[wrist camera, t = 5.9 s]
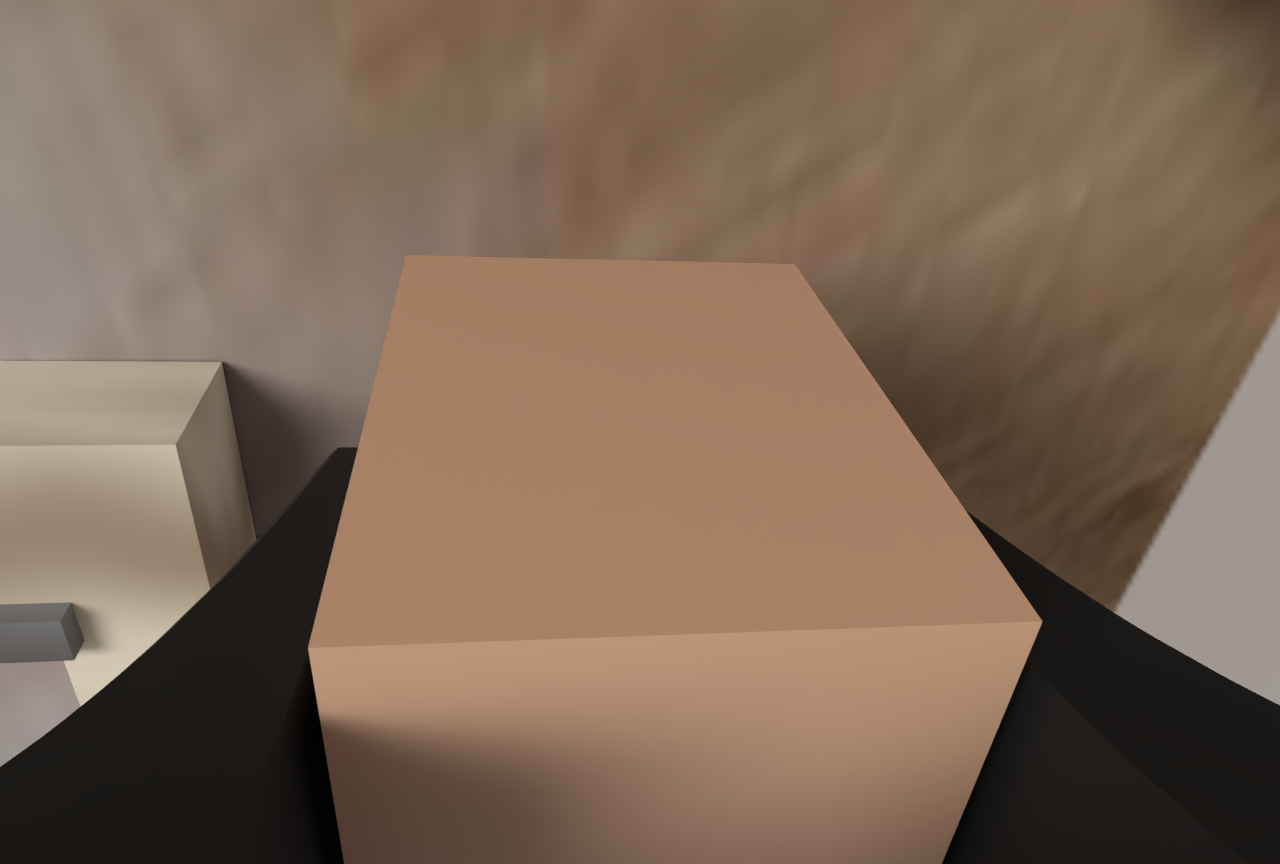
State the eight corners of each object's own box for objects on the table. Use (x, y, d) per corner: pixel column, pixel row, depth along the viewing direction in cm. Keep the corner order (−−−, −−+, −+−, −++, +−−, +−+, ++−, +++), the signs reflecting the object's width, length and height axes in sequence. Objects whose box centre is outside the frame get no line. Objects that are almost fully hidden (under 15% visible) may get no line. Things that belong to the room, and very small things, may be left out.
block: (744, 556, 13) (889, 989, 8) (427, 564, 13) (373, 1037, 8) (794, 263, 11) (1042, 621, 6) (406, 255, 10) (307, 648, 5)
